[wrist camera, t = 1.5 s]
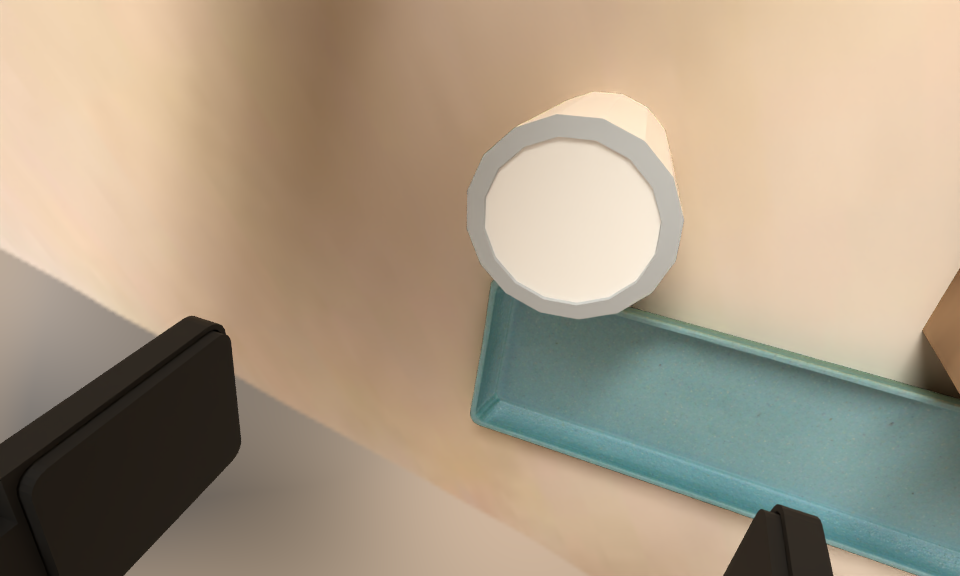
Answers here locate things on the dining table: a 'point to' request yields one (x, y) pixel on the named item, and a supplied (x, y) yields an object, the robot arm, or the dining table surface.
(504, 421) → the teal serving tray
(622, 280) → the white cup
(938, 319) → the walnut base block
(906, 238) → the dining table surface
